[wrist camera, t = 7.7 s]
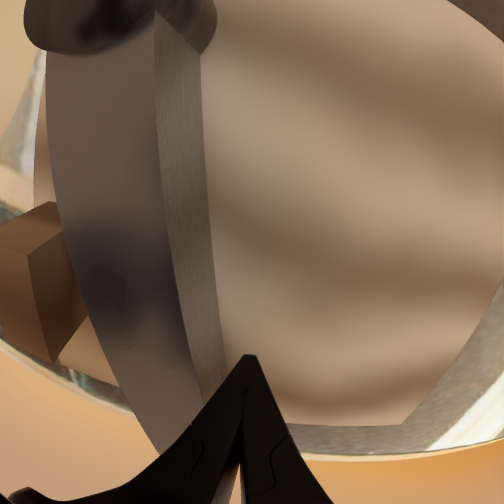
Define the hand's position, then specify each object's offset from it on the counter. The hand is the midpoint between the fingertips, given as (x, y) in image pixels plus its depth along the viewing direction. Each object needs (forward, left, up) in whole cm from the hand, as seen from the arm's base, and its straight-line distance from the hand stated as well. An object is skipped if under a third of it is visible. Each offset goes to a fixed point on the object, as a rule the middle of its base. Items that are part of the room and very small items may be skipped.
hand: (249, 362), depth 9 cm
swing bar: (-3, -3, -2) cm, 5 cm away
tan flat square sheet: (-4, +1, -4) cm, 5 cm away
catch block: (-1, -8, -3) cm, 8 cm away
